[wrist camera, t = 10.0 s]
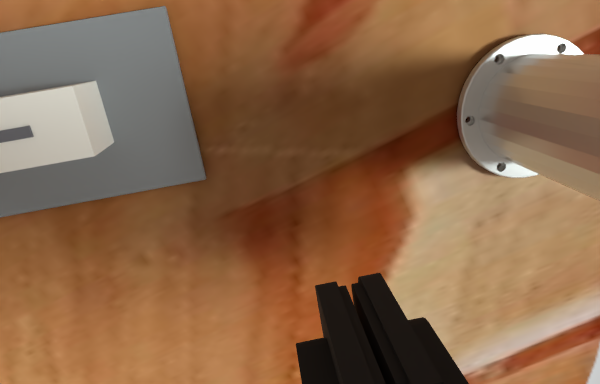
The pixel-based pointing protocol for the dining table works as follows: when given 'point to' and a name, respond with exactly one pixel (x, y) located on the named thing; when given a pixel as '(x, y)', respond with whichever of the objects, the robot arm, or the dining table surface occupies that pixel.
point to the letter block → (52, 126)
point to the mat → (105, 107)
